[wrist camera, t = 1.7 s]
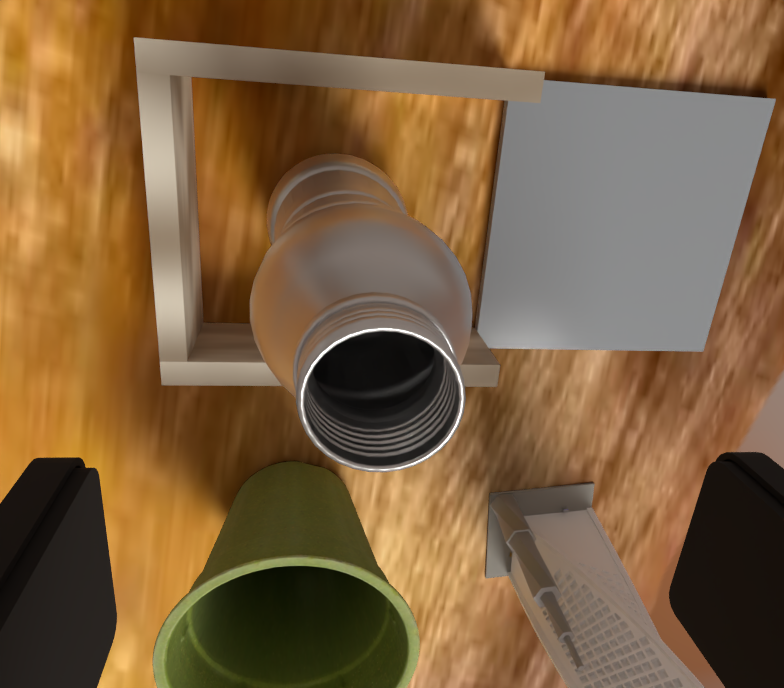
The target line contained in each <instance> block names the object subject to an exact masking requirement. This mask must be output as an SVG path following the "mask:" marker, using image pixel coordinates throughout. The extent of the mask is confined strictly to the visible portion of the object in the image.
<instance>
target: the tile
mask: <svg viewBox="0 0 784 688" xmlns="http://www.w3.org/2000/svg"><path fill="white" fill-rule="evenodd" d="M775 101H776V99H769V98H757V97H745V96H732V95H720V94H708V93H696V92H683V91H671V90H659V89H647V88H634V87H622V86H610V85H598V84H585V83H573V82H561V81H549V80H544V82H543V89H542V95H541V102H540V103H531V102H518V101H504V109H503V116H502V124H501V131H500V139H499V147H498V154H497V162H496V169H495V177H494V185H493V192H492V200H491V207H490V215H489V223H488V230H487V238H486V246H485V253H484V261H483V268H482V276H481V284H480V291H479V299H478V306H477V314H476V322H475V329H476V330H477V332H478V333H479V335H480V336H481V338H482V339H483V340H484V342H485V343H486V345H487V346H488V348H495V349H566V350H637V351H703V350H704V347H705V343H706V340H707V336H708V333H709V329H710V326H711V322H712V319H713V316H714V312H715V309H716V305H717V302H718V298H719V295H720V291H721V288H722V284H723V281H724V277H725V274H726V270H727V267H728V264H729V260H730V257H731V253H732V250H733V246H734V243H735V239H736V236H737V232H738V229H739V225H740V222H741V218H742V215H743V211H744V208H745V205H746V201H747V198H748V194H749V191H750V187H751V184H752V180H753V177H754V173H755V170H756V166H757V163H758V159H759V156H760V153H761V149H762V146H763V142H764V139H765V135H766V132H767V128H768V125H769V121H770V118H771V114H772V111H773V107H774V104H775Z"/></svg>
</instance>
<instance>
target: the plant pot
mask: <svg viewBox="0 0 784 688" xmlns="http://www.w3.org/2000/svg"><path fill="white" fill-rule="evenodd" d="M419 648H420V641H419V633H418V628H417V624H416V621H415V618H414V616H413V613H412V611H411V610H410V608H409V606H408V604H407V603H406V601H405V600H404V599H403V597H402V596H401V595H400V594H399V593H398V592H397V591H396V590H395V588H394V587H393V586H391V585H390V584H389V582H388V580H387V578H386V576H385V575H384V573H383V572H382V570H381V569H380V568H379V566H378V565H377V562H376V560H375V557H374V555H373V552H372V550H371V547H370V545H369V542H368V540H367V537H366V535H365V532H364V530H363V527H362V525H361V522H360V519H359V517H358V514H357V512H356V509H355V507H354V504H353V502H352V499H351V497H350V494H349V492H348V490H347V488H346V486H345V485H344V483H343V482H342V481H341V480H340V479H339V478H338V477H337V476H336V475H335V474H334V473H332V472H331V471H329V470H328V469H326V468H323V467H318V466H313V465H310V464H306V463H302V462H299V461H289V462H283V463H277V464H274V465H271V466H268V467H266V468H264V469H262V470H260V471H258V472H257V473H255V474H254V475H253V476H251V477H250V478H249V479H248V480H247V481H246V482H245V483H244V484H243V486H242V487H241V488H240V490H239V492H238V494H237V496H236V497H235V499H234V502H233V504H232V506H231V508H230V511H229V513H228V515H227V518H226V520H225V522H224V525H223V527H222V529H221V531H220V534H219V536H218V538H217V540H216V543H215V545H214V547H213V549H212V551H211V554H210V556H209V558H208V560H207V563H206V565H205V567H204V570H203V572H202V573H201V574H200V575H199V577H198V578H197V579H196V581H195V582H194V584H193V586H192V587H191V589H190V591H189V593H188V594H187V595H186V596H184V597H183V598H182V599H181V600H180V601H179V602H178V604H177V605H176V606H175V607H174V608H173V610H172V611H171V612H170V614H169V615H168V617H167V618H166V620H165V622H164V623H163V625H162V627H161V629H160V631H159V634H158V636H157V639H156V642H155V646H154V652H153V672H154V678H155V682H156V685H157V688H406V687H407V686H408V684H409V682H410V680H411V678H412V676H413V674H414V671H415V669H416V665H417V661H418V656H419Z"/></svg>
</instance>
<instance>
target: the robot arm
mask: <svg viewBox="0 0 784 688" xmlns="http://www.w3.org/2000/svg"><path fill="white" fill-rule="evenodd" d="M669 599H670V604H671V607H672V609H673V612H674V614H675V615H676V617H677V618H678V620H679V621H680V622H681V624H682V625H683V627H684V628H685V630H686V631H687V633H688V634H689V635H690V637H691V638H692V640H693V641H694V643H695V644H696V646H697V647H698V648H699V650H700V651H701V653H702V654H703V656H704V657H705V659H706V660H707V661H708V663H709V664H710V666H711V667H712V669H713V670H714V671H715V673H716V675H717V676H718V677H719V679H720V680H721V682H722V683H723V684H724V686H725V688H784V469H783V468H782V467H781V466H779V465H778V464H777V463H776V462H774V461H773V460H772V459H771V458H769V457H768V456H766V455H765V454H763V453H758V452H726V453H723V454H721V455H720V456H719V457H718V458H717V460H716V462H713V463H711V464H710V465H709V467H708V469H707V472H706V475H705V478H704V481H703V484H702V488H701V491H700V494H699V497H698V500H697V503H696V507H695V510H694V513H693V516H692V519H691V523H690V526H689V529H688V532H687V535H686V538H685V542H684V545H683V548H682V551H681V554H680V557H679V561H678V564H677V567H676V570H675V573H674V577H673V580H672V583H671V586H670V591H669ZM116 623H117V612H116V603H115V596H114V588H113V580H112V572H111V565H110V557H109V549H108V541H107V534H106V526H105V518H104V510H103V503H102V495H101V487H100V479H99V474H98V471H97V469H95V468H86V467H85V464H84V462H83V460H82V459H81V458H36V459H34V460H33V461H32V462H31V463H30V464H29V465H28V467H27V468H26V469H25V471H24V472H23V473H22V475H21V476H20V478H19V479H18V480H17V482H16V483H15V484H14V486H13V487H12V489H11V490H10V491H9V493H8V494H7V495H6V497H5V498H4V499H3V501H2V502H1V504H0V688H97V686H98V683H99V680H100V677H101V674H102V671H103V669H104V666H105V663H106V660H107V657H108V654H109V651H110V648H111V646H112V643H113V639H114V636H115V631H116Z"/></svg>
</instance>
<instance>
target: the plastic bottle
mask: <svg viewBox="0 0 784 688" xmlns="http://www.w3.org/2000/svg"><path fill="white" fill-rule="evenodd" d="M267 229H268V234H269V239H270V242H271V245H272V246H271V247H270V248H269V250H268V251H267V252H266V254H265V257H264V259H263V261H262V263H261V265H260V267H259V270H258V272H257V274H256V276H255V278H254V282H253V287H252V292H251V296H250V323H251V327H252V332H253V336H254V340H255V343H256V345H257V347H258V349H259V351H260V353H261V356H262V358H263V360H264V361H265V363H266V364H267V366H268V367H269V369H270V370H271V371H272V373H273V374H274V375H275V377H276V378H277V380H278V381H279V382H280V384H281V385H282V386H283V387H284V388H285V389H287V390H288V391H289V392H290V393H291V394H292V395H293V396H294V397H295V398H296V404H297V409H298V414H299V418H300V421H301V423H302V425H303V427H304V430H305V432H306V434H307V435H308V437H309V438H310V439H311V441H312V442H313V443H314V445H315V446H316V447H317V448H318V449H319V450H321V451H322V452H323V453H324V454H325V455H326V456H328V457H329V458H331V459H333V460H334V461H336V462H338V463H339V464H342V465H345V466H347V467H350V468H353V469H357V470H362V471H367V472H390V471H397V470H402V469H405V468H408V467H412V466H415V465H417V464H419V463H421V462H423V461H425V460H427V459H429V458H430V457H431V456H433V455H434V454H435V453H437V452H438V451H439V450H441V449H442V448H443V447H444V446H445V445H446V443H447V442H448V441H449V440H450V439H451V438H452V436H453V435H454V433H455V431H456V430H457V428H458V427H459V424H460V421H461V419H462V416H463V413H464V407H465V400H466V397H465V385H464V378H463V375H462V372H461V368H460V365H461V364H462V362H463V360H464V357H465V354H466V351H467V348H468V346H469V341H470V334H471V327H472V302H471V293H470V289H469V286H468V282H467V279H466V275H465V273H464V271H463V269H462V267H461V265H460V263H459V262H458V260H457V258H456V256H455V255H454V254H453V252H452V251H451V250H450V249H449V248H448V246H447V245H446V244H445V243H444V241H443V240H442V239H440V238H439V237H438V236H437V235H436V234H434V233H433V232H432V231H431V230H429V229H428V228H427V227H426V226H424V225H423V224H422V223H420V222H419V221H417V220H416V219H414V218H412V217H410V216H408V213H407V209H406V206H405V203H404V200H403V197H402V196H401V194H400V192H399V190H398V188H397V186H396V185H395V184H394V183H393V181H392V180H391V179H390V178H389V177H388V175H386V174H385V173H384V172H383V171H382V170H380V169H379V168H378V167H377V166H375V165H373V164H372V163H370V162H368V161H366V160H364V159H362V158H358V157H355V156H352V155H347V154H338V153H332V154H321V155H317V156H314V157H311V158H308V159H306V160H304V161H302V162H300V163H298V164H297V165H295V166H293V167H292V168H291V169H290V170H289V171H288V172H287V173H285V174H284V175H283V177H282V178H281V179H280V181H279V182H278V183H277V185H276V186H275V188H274V191H273V193H272V195H271V197H270V200H269V205H268V210H267Z"/></svg>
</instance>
